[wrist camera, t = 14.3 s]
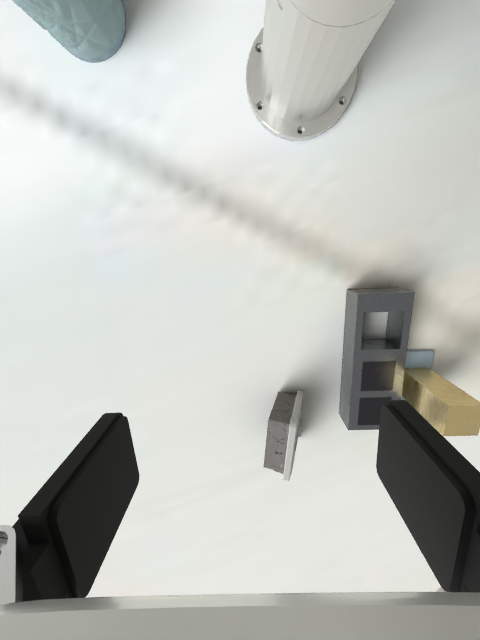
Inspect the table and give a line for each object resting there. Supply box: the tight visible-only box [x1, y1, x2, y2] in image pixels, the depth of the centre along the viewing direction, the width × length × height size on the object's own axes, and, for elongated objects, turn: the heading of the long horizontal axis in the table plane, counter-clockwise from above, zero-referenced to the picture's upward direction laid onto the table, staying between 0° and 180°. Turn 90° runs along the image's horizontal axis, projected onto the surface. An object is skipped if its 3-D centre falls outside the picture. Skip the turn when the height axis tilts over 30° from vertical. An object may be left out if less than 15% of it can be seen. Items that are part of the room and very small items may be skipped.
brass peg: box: [401, 367, 480, 436], centre depth 36 cm, size 4×4×10 cm
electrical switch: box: [264, 390, 303, 481], centre depth 40 cm, size 9×5×9 cm, turn 177°
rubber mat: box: [401, 350, 434, 400], centre depth 41 cm, size 9×5×1 cm, turn 2°
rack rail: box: [339, 288, 414, 430], centre depth 39 cm, size 20×7×4 cm, turn 2°
